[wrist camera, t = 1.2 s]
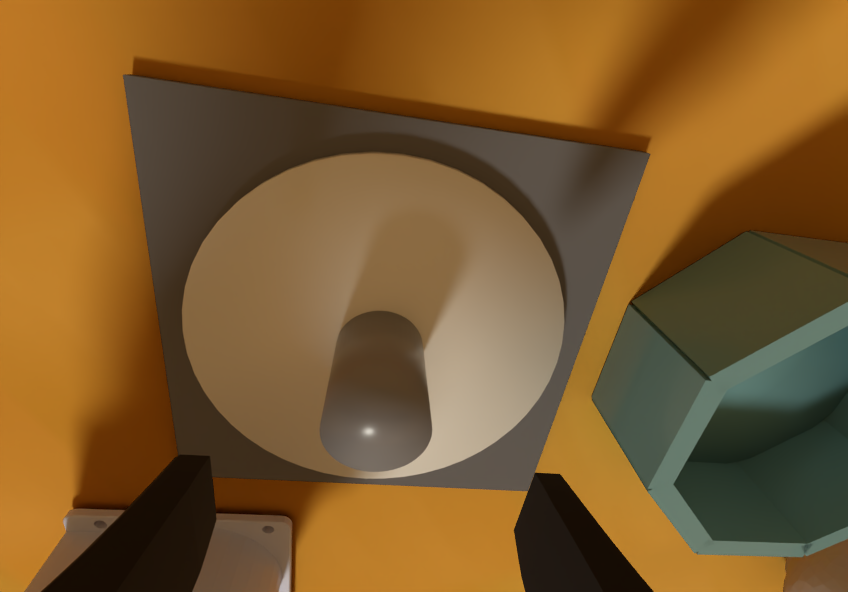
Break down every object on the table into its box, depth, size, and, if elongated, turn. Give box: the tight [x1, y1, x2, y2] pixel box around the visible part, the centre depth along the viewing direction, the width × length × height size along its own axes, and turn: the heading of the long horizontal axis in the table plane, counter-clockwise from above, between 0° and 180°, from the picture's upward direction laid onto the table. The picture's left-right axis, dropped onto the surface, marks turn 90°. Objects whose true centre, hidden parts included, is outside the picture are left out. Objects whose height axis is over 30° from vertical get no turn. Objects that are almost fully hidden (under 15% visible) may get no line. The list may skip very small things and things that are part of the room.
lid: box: [182, 151, 564, 479], centre depth 14 cm, size 13×13×5 cm
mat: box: [123, 75, 650, 491], centre depth 16 cm, size 15×15×1 cm
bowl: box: [592, 230, 848, 557], centre depth 16 cm, size 11×11×4 cm
